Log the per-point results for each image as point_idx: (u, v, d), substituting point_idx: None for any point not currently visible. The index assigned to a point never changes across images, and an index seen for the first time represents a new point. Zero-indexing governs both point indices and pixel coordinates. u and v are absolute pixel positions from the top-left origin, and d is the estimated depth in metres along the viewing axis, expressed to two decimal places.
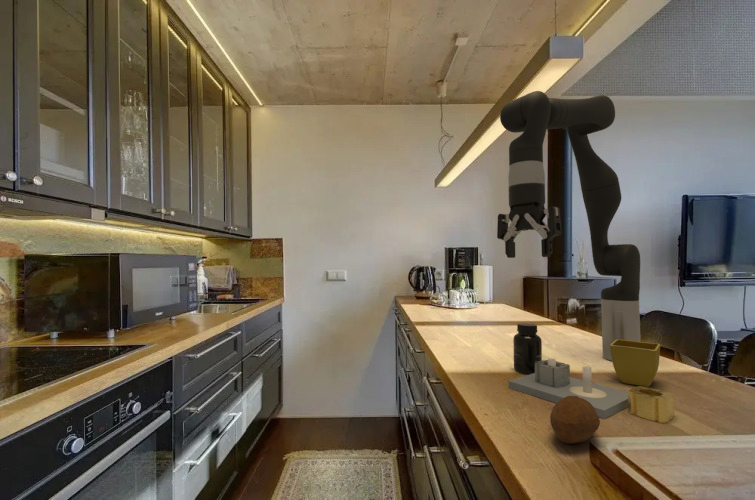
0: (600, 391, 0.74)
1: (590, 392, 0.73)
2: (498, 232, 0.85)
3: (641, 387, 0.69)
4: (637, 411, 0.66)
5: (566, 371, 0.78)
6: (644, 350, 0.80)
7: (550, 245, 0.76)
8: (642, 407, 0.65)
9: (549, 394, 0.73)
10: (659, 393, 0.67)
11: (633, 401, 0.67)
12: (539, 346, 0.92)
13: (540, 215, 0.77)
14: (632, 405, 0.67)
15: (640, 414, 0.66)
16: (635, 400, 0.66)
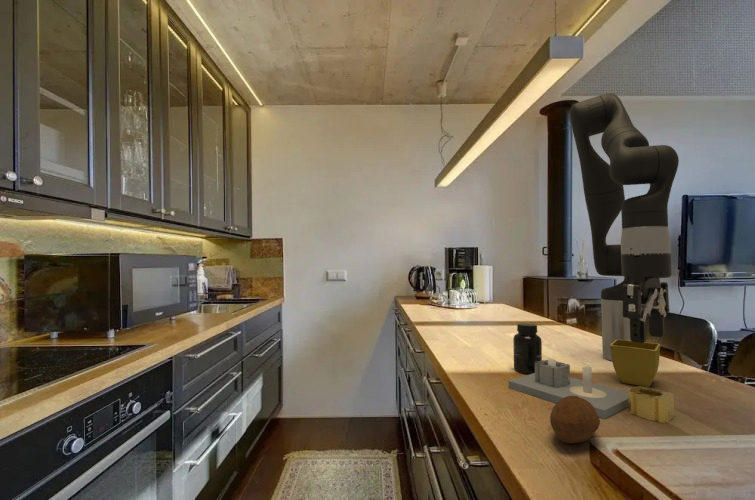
0: (600, 391, 0.74)
1: (590, 392, 0.73)
2: (639, 310, 0.63)
3: (641, 387, 0.69)
4: (637, 411, 0.66)
5: (566, 371, 0.78)
6: (644, 350, 0.80)
7: None
8: (642, 407, 0.65)
9: (549, 394, 0.73)
10: (659, 393, 0.67)
11: (633, 401, 0.67)
12: (539, 346, 0.92)
13: None
14: (632, 405, 0.67)
15: (640, 414, 0.66)
16: (635, 400, 0.66)
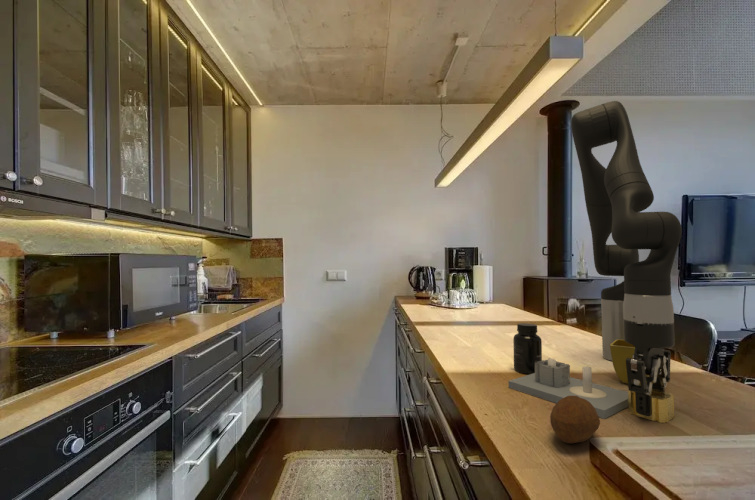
0: (600, 391, 0.74)
1: (590, 392, 0.73)
2: (644, 386, 0.63)
3: None
4: None
5: (566, 371, 0.78)
6: None
7: None
8: None
9: (549, 394, 0.73)
10: (659, 393, 0.67)
11: (633, 401, 0.67)
12: (539, 346, 0.92)
13: None
14: (632, 405, 0.67)
15: (640, 414, 0.66)
16: (635, 400, 0.66)
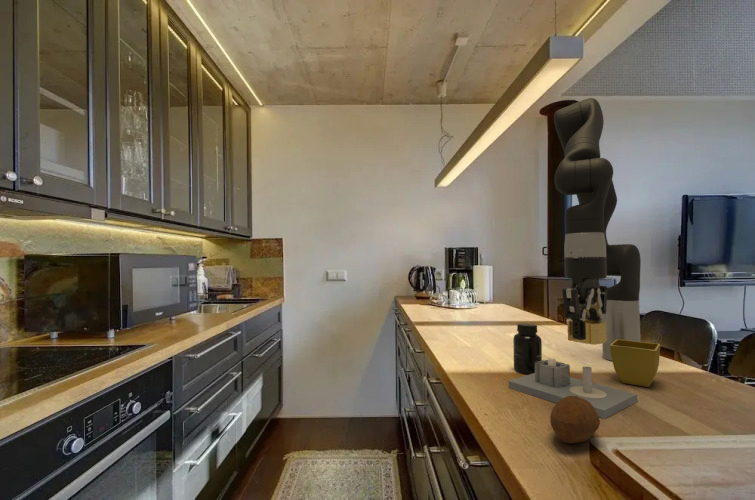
0: (600, 391, 0.74)
1: (590, 392, 0.73)
2: (577, 311, 0.70)
3: None
4: None
5: (566, 371, 0.78)
6: (644, 350, 0.80)
7: None
8: None
9: (549, 394, 0.73)
10: (594, 322, 0.75)
11: (571, 329, 0.75)
12: (539, 346, 0.92)
13: None
14: (570, 332, 0.75)
15: (576, 339, 0.73)
16: None
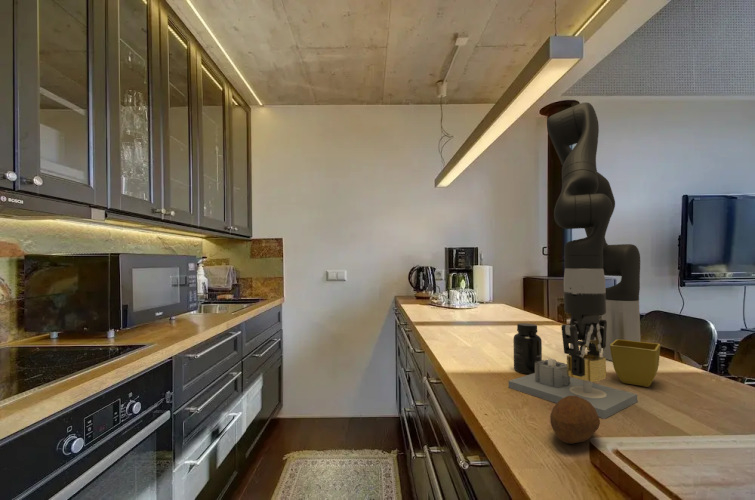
0: (600, 391, 0.74)
1: (590, 392, 0.73)
2: (576, 348, 0.70)
3: None
4: None
5: (566, 371, 0.78)
6: (644, 350, 0.80)
7: None
8: None
9: (549, 394, 0.73)
10: (594, 357, 0.74)
11: (570, 364, 0.74)
12: (539, 346, 0.92)
13: None
14: (569, 368, 0.74)
15: (575, 375, 0.73)
16: None
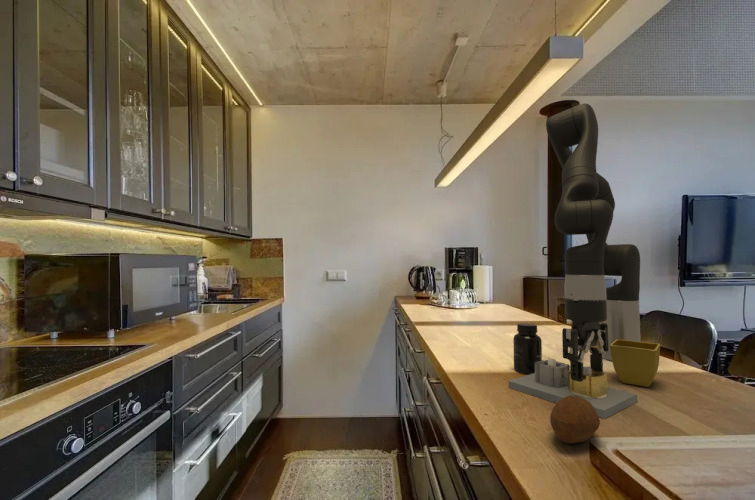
0: None
1: None
2: (575, 353, 0.70)
3: None
4: (574, 388, 0.73)
5: (566, 371, 0.78)
6: (644, 350, 0.80)
7: None
8: (578, 385, 0.73)
9: (549, 394, 0.73)
10: (595, 372, 0.74)
11: (571, 380, 0.74)
12: (539, 346, 0.92)
13: None
14: (571, 383, 0.74)
15: (577, 391, 0.73)
16: None
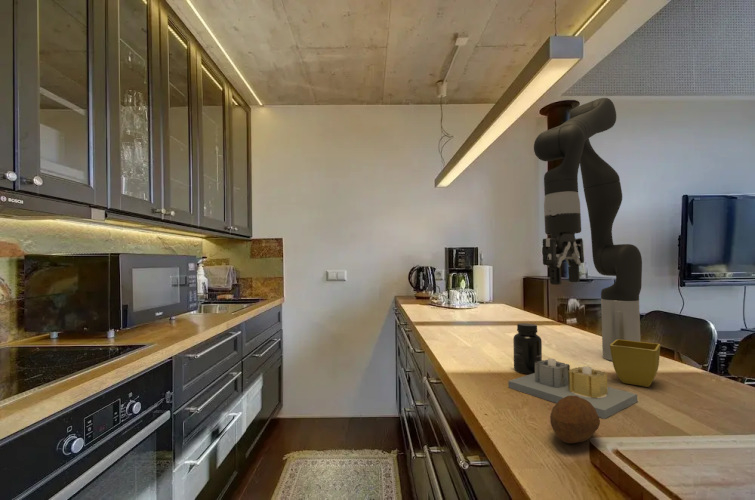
0: None
1: None
2: (554, 257, 0.79)
3: (581, 368, 0.77)
4: (574, 388, 0.73)
5: (566, 371, 0.78)
6: (644, 350, 0.80)
7: None
8: (578, 385, 0.73)
9: (549, 394, 0.73)
10: (595, 372, 0.74)
11: (571, 380, 0.74)
12: (539, 346, 0.92)
13: None
14: (571, 383, 0.74)
15: (577, 391, 0.73)
16: (573, 379, 0.74)
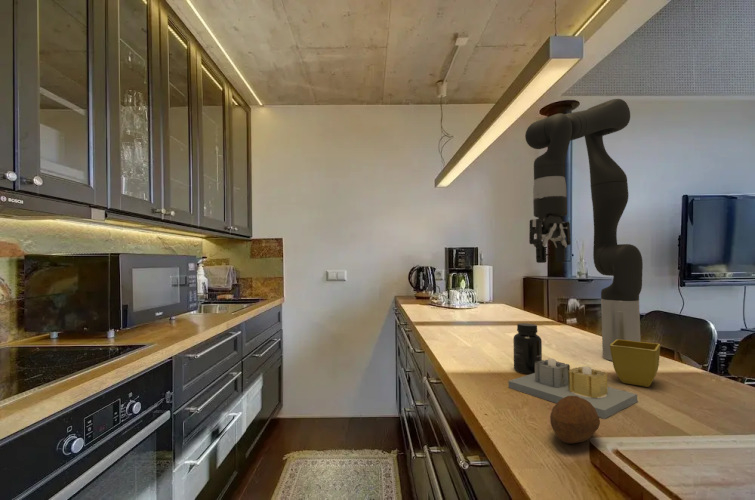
0: None
1: None
2: (539, 237, 0.85)
3: (581, 368, 0.77)
4: (574, 388, 0.73)
5: (566, 371, 0.78)
6: (644, 350, 0.80)
7: None
8: (578, 385, 0.73)
9: (549, 394, 0.73)
10: (595, 372, 0.74)
11: (571, 380, 0.74)
12: (539, 346, 0.92)
13: None
14: (571, 383, 0.74)
15: (577, 391, 0.73)
16: (573, 379, 0.74)
